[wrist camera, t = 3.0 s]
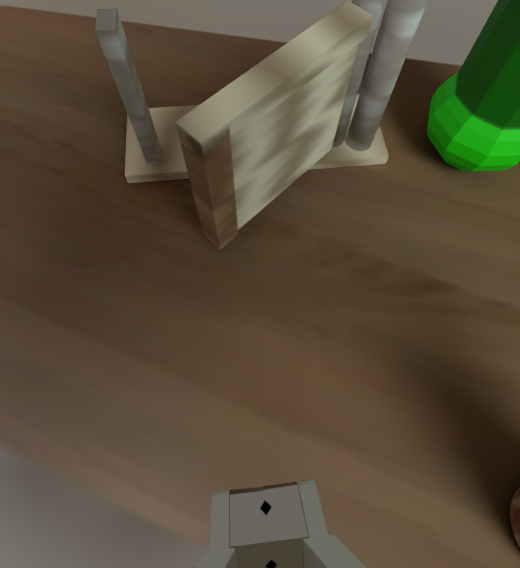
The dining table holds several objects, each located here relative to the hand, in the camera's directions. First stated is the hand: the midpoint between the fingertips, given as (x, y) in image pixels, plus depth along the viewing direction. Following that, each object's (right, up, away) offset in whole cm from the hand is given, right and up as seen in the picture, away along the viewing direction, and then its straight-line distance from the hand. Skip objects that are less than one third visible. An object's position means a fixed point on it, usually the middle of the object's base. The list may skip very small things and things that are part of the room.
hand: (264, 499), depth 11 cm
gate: (+2, +15, +21) cm, 26 cm away
